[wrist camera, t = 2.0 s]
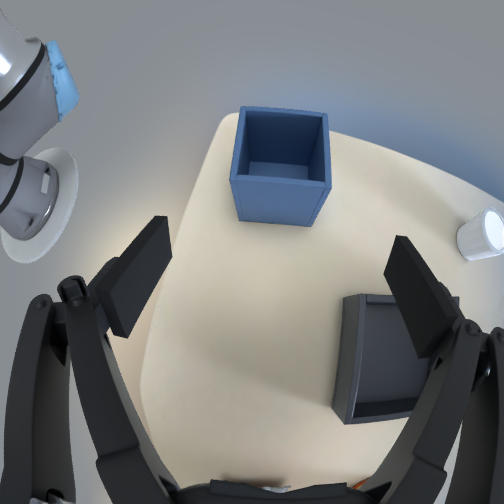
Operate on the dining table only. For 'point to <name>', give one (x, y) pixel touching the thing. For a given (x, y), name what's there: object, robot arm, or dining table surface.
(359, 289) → the dining table surface
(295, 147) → the blue bin
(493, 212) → the white cup
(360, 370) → the charcoal bin
